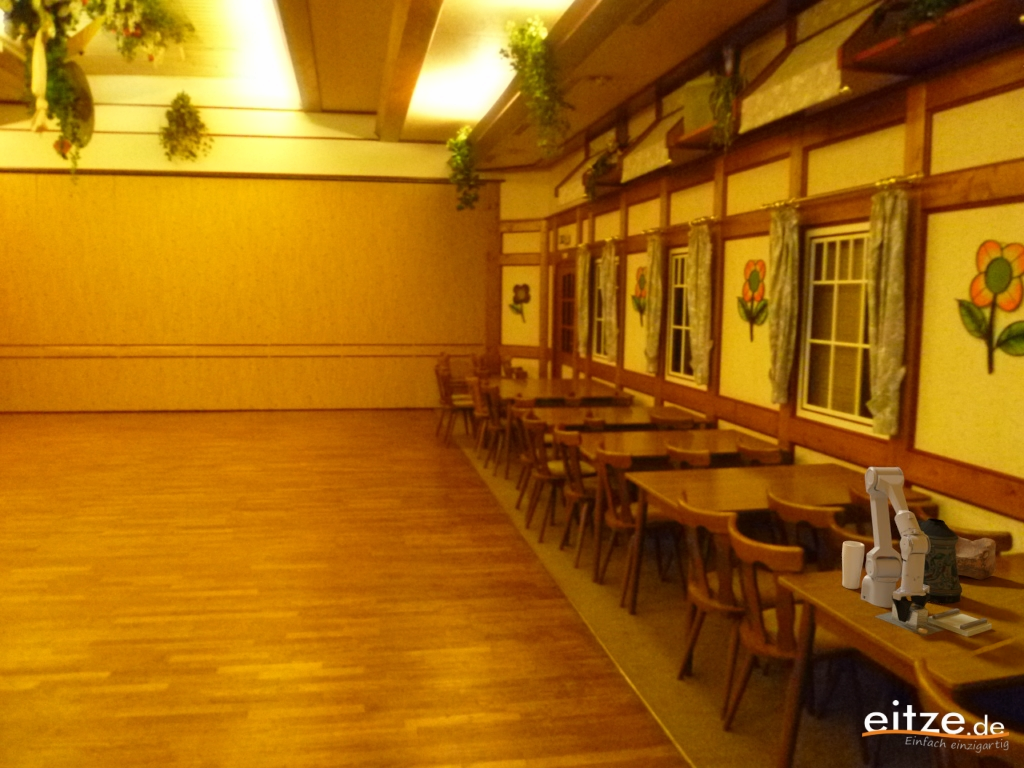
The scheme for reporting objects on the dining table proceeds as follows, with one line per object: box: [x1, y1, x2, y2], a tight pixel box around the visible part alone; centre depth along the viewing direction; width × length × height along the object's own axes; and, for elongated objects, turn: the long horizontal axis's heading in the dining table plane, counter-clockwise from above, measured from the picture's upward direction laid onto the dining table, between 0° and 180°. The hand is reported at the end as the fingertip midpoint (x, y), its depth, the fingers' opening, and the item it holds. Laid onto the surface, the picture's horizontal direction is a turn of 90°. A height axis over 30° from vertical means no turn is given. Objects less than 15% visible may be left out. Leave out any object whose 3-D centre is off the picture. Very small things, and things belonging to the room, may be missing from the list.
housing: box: [891, 601, 929, 629], centre depth 239 cm, size 8×5×6 cm, turn 30°
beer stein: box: [917, 517, 963, 605], centre depth 265 cm, size 16×19×25 cm
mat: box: [874, 611, 945, 637], centre depth 239 cm, size 16×10×2 cm, turn 30°
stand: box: [927, 608, 993, 638], centre depth 238 cm, size 12×12×4 cm
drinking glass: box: [841, 540, 865, 590], centre depth 271 cm, size 7×7×15 cm
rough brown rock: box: [950, 528, 997, 581], centre depth 286 cm, size 23×17×15 cm
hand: (909, 619), depth 239 cm, fingers open, 6 cm apart
